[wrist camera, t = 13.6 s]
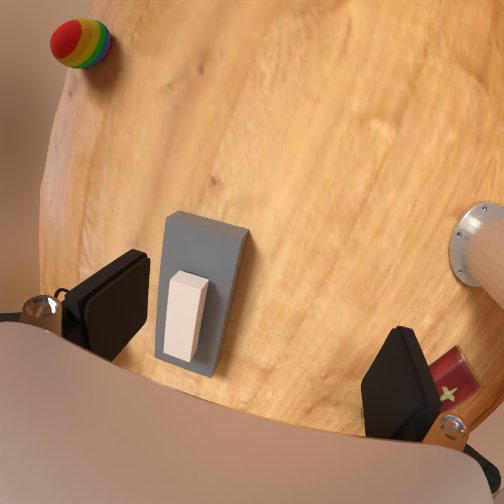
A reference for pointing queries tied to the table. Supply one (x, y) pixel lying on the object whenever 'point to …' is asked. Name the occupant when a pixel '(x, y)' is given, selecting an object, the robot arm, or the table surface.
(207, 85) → the table surface
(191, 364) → the gray rectangular slab
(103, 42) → the decorative egg
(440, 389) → the hardcover book
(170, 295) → the two-legged white block
